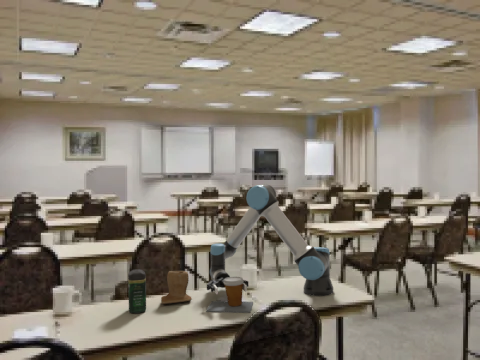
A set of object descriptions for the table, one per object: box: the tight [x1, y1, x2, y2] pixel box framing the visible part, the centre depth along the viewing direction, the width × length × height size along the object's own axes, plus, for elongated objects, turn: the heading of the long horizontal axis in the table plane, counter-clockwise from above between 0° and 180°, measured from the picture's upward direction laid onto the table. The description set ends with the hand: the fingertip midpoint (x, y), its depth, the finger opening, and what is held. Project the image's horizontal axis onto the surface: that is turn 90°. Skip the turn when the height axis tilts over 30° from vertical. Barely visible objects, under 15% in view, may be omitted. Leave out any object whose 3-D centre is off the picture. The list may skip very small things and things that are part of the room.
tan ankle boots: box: [160, 270, 192, 305], centre depth 211 cm, size 15×12×15 cm
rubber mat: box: [205, 300, 254, 314], centre depth 201 cm, size 20×14×1 cm
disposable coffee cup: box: [223, 276, 245, 306], centre depth 203 cm, size 10×10×12 cm
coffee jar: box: [127, 268, 147, 314], centre depth 199 cm, size 10×8×19 cm
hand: (231, 290), depth 197 cm, fingers open, 13 cm apart
